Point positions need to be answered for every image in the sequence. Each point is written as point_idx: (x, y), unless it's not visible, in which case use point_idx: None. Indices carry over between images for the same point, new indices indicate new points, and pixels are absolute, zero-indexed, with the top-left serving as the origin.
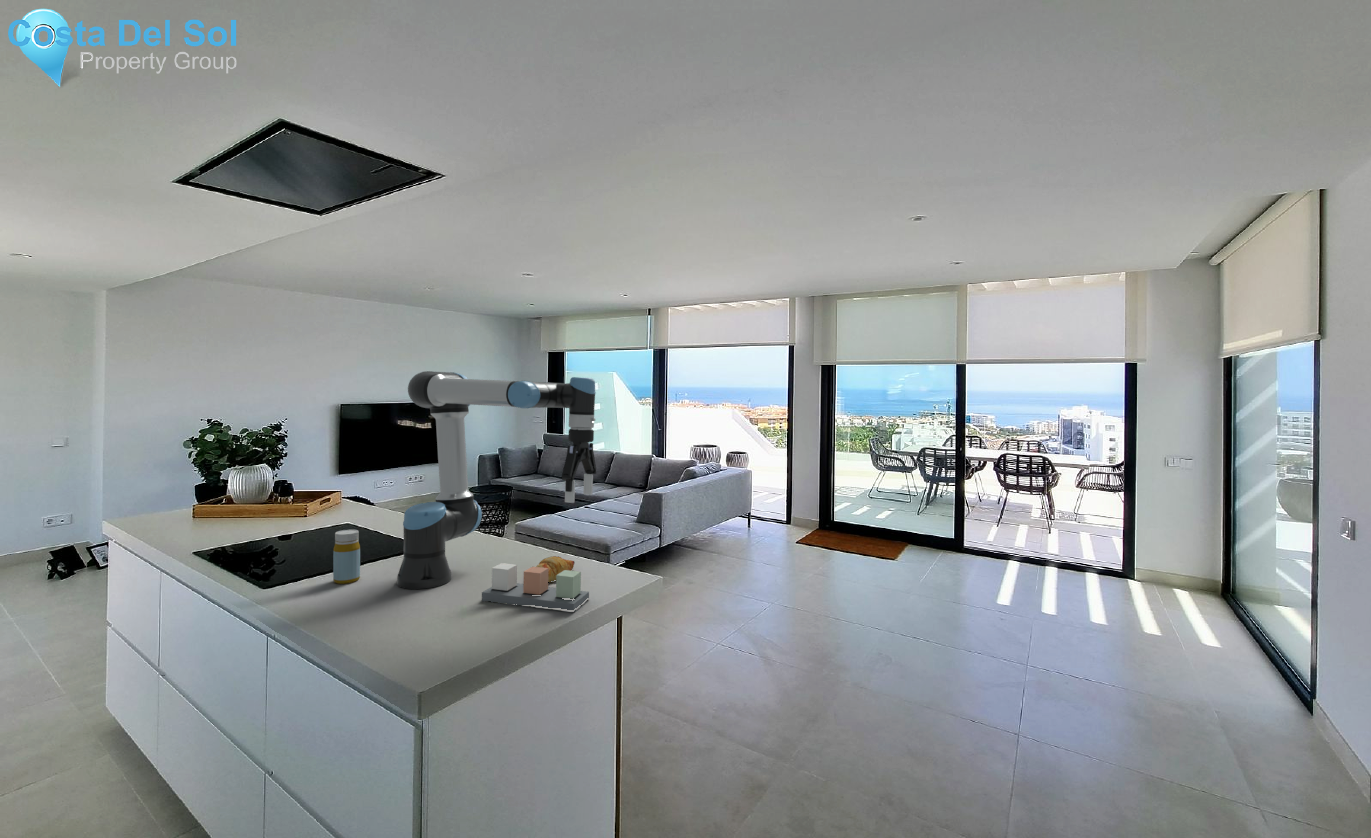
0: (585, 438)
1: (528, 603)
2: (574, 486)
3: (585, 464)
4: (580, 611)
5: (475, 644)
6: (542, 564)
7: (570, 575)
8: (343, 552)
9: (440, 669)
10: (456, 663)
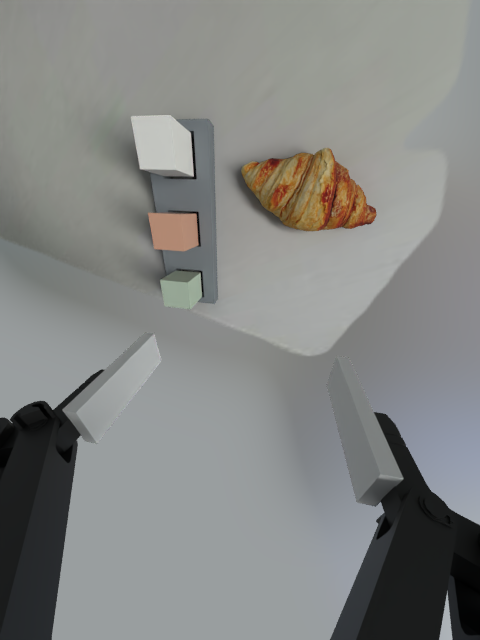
0: None
1: None
2: (116, 413)
3: (349, 627)
4: None
5: (58, 224)
6: (286, 181)
7: (169, 300)
8: None
9: (10, 222)
10: (26, 230)
